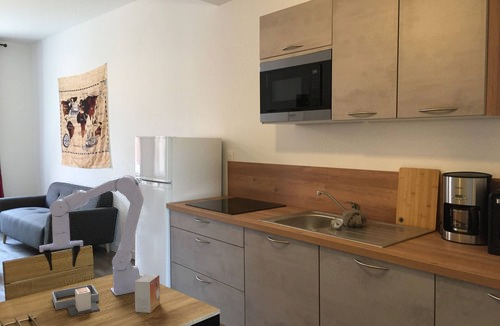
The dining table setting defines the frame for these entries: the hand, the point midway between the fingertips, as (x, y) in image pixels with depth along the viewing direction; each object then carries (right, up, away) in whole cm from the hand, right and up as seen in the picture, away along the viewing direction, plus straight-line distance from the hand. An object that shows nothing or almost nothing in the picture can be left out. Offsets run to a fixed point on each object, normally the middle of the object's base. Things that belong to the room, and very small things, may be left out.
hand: (62, 267), depth 150 cm
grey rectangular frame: (+6, -11, -4) cm, 13 cm away
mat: (+13, -11, -13) cm, 21 cm away
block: (+13, -10, -12) cm, 21 cm away
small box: (+35, -11, -12) cm, 39 cm away
